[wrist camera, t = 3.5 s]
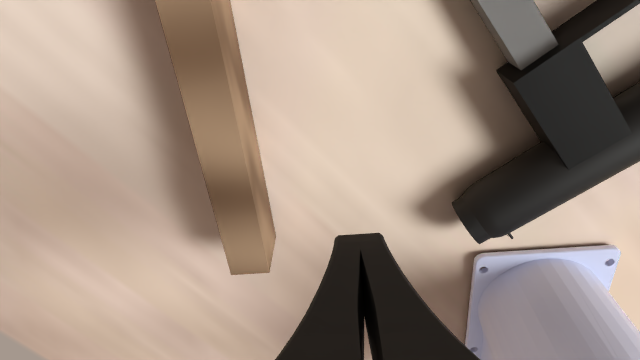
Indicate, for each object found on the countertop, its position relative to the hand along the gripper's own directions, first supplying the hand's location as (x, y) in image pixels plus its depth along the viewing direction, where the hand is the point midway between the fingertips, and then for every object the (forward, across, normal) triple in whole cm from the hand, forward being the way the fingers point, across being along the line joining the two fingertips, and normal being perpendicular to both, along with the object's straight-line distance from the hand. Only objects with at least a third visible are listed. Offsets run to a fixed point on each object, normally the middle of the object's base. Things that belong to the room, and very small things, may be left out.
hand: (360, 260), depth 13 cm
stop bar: (+10, +6, -5) cm, 12 cm away
